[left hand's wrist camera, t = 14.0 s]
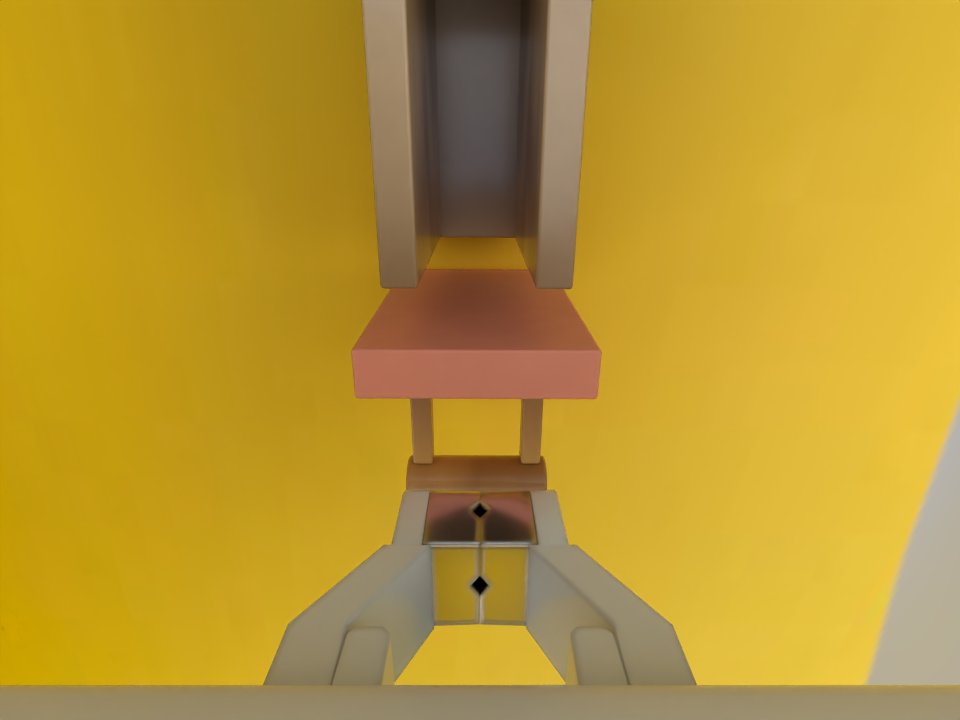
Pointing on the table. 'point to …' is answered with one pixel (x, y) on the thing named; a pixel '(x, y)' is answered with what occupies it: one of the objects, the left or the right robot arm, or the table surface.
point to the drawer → (476, 218)
